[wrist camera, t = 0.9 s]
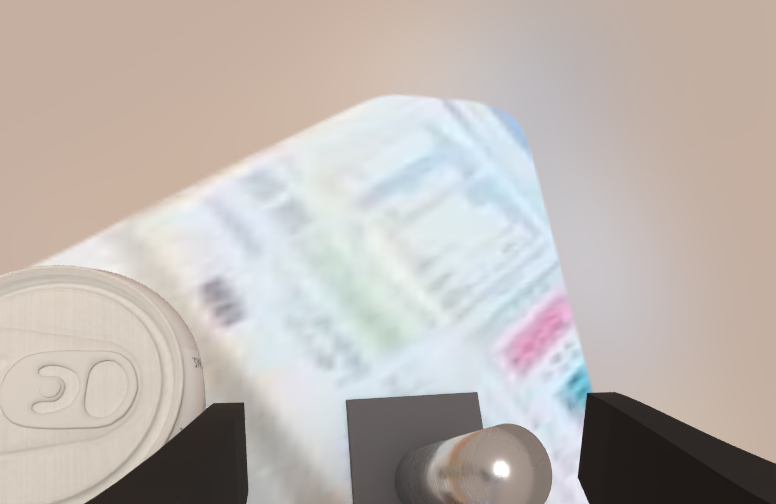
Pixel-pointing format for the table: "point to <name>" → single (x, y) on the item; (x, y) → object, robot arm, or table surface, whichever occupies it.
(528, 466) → the steel peg
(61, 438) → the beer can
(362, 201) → the table surface
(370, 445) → the rubber mat
